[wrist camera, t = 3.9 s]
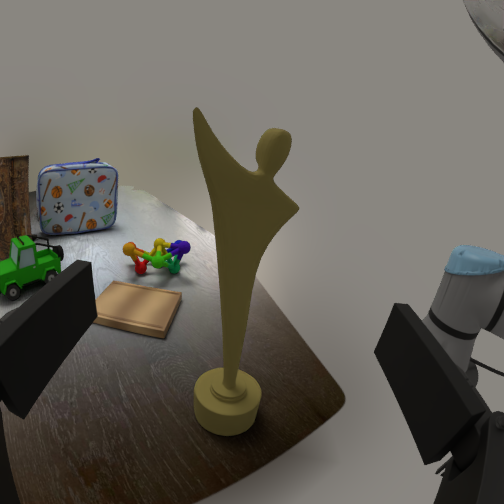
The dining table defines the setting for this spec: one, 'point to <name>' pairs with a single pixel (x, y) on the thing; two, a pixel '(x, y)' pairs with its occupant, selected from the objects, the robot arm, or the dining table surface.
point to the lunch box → (77, 197)
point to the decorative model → (158, 255)
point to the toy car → (28, 265)
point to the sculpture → (238, 264)
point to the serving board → (137, 308)
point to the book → (13, 201)
